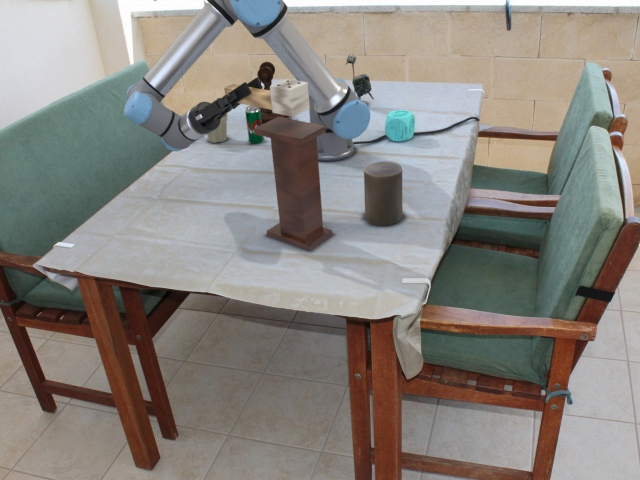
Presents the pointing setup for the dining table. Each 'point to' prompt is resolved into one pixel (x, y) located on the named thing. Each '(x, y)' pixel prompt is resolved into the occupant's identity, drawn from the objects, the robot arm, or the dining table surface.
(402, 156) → the dining table surface
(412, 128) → the decorative dice
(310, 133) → the plant stand
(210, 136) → the flower pot
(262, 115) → the dark brown sculpture
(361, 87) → the plant with pod
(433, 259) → the dining table surface
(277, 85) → the die stick
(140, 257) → the dining table surface
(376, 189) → the pillar candle
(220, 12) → the robot arm
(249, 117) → the soda can
